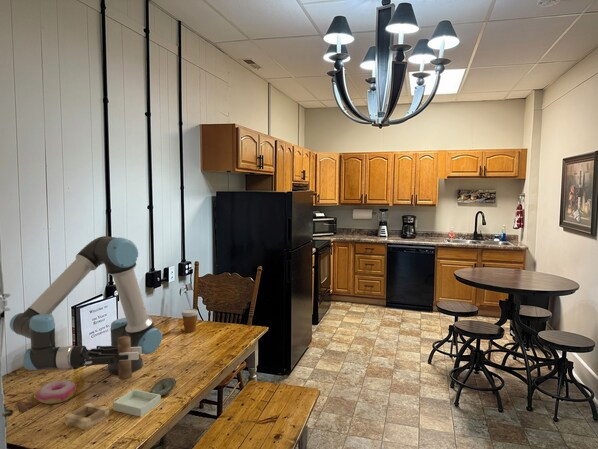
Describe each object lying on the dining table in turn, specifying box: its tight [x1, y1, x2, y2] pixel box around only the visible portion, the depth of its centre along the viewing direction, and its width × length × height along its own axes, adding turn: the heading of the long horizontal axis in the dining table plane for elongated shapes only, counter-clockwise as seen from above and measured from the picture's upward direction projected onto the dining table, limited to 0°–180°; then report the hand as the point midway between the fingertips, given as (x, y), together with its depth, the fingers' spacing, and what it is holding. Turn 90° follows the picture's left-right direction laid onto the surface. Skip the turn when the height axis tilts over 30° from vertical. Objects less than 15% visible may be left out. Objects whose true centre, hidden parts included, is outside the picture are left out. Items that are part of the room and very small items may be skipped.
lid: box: [150, 377, 177, 397], centre depth 170 cm, size 11×10×5 cm
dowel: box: [118, 336, 133, 381], centre depth 154 cm, size 4×4×15 cm
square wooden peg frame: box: [64, 402, 110, 431], centre depth 149 cm, size 10×10×3 cm
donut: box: [36, 379, 77, 405], centre depth 165 cm, size 14×13×5 cm
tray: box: [112, 388, 162, 417], centre depth 159 cm, size 13×11×3 cm
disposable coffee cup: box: [181, 308, 199, 334], centre depth 244 cm, size 10×10×12 cm
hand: (139, 353), depth 155 cm, fingers closed on dowel, 4 cm apart
